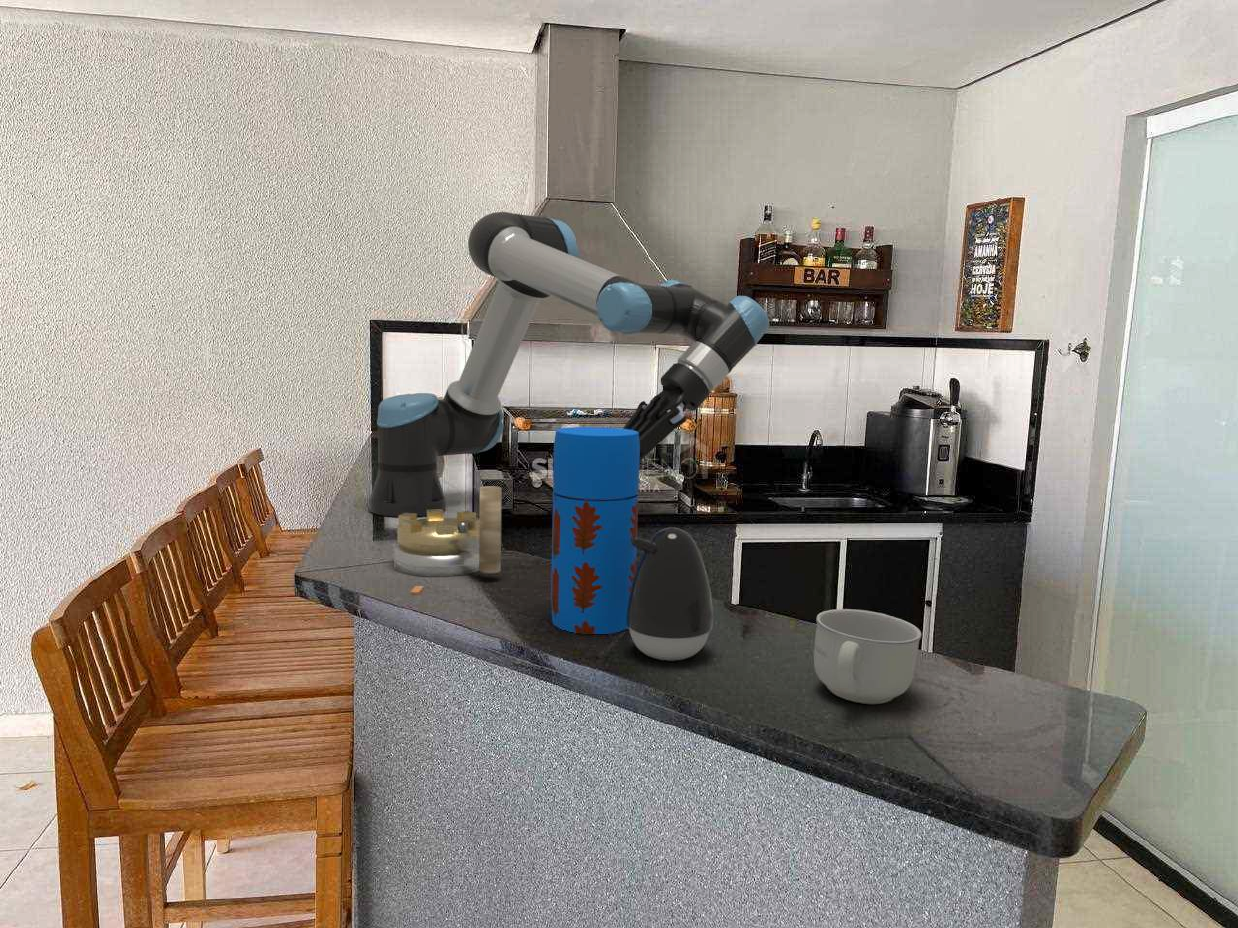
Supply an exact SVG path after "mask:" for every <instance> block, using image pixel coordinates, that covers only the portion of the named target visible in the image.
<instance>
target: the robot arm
mask: <svg viewBox="0 0 1238 928" xmlns="http://www.w3.org/2000/svg"><path fill="white" fill-rule="evenodd" d="M467 244H468V245H467V247H468V253H469V256H470V258H471V261H472V262H473V264H474V265H475V266H476V267H477V268H478V269H479V270H480V271H482V272H483V273H484V274H487V275H489V276H492V277H494V278H496V280H497V283H498V284H497V287H496V289H495V291H494V294H493V296H492V299H491V301H490V304H489V306H488V309H487V311H486V313H485V316H484V318H483V321H482V324H481V326H480V329H479V331H478V333H477V336H476V338H475V340H474V343H473V344H472V345H473V346H472V348H471V350H470V353H469V356H468V358H467V360H466V362H465V365H464V368H463V370H462V372H461V375H460V378H459V379H458V380H456V381H453V382H451V383H449V385H448V387H447V389H446V391H445V394H444V396H443V397H442V399H438V396H437V395H436V394H434V393H427V392H416V393H404V394H398V395H393V396H389V397H387V398H384V399H382V401H381V402H380V403H379V405H378V410H377V420H376V425H377V453H378V454H377V455H378V456H377V461H378V462H377V465H378V467H377V469H378V470H377V475H376V479H375V481H374V485H373V488H372V491H371V494H370V498H369V503H368V505H369V508H368V509H369V512H370V513H372V514H375V515H379V516H384V517H396V518H397V517H398V518H399V515H401V514H403V513H415V514H417V517H425V516H426V517H427V509H442V510H443V511H444V512H445V511H446V510H447V509H446V508H447V505H446V504H447V499H446V496H445V492H444V490H443V487H442V484H441V480H440V477H439V475H438V457H443V456H445V457H446V456H455V455H457V456H458V455H473V454H478V453H481V452H486V451H488V450H490V449H492V448H493V447H495V445H496V444H497V443H498V442H499V440H500V439H501V437H502V435H503V430H504V426H505V424H504V423H503V420H504V413H503V410H502V403H501V400H500V398H499V394H500V392H501V391H502V388H503V385H504V383H505V381H506V379H507V377H508V374H509V372H510V370H511V368H512V366H513V362H514V360H515V357H516V355H517V353H518V352H519V349H520V347H521V344H522V342H523V340H524V337H525V335H526V333H527V330H528V329H529V326H530V324H531V322H532V319H533V317H534V314H535V313H536V310H537V308H538V305H539V303H540V301H543V300H547V299H549V298H550V297H552V298H554V299H556V300H558V301H560V302H563V303H564V304H568V305H569V306H572V307H573V308H574V307H575V308H576V309H579V310H580V311H583V312H585V313H586V314H587V313H588V314H589V315H592V316H594V317H596V318H598V320H599V321H600V322H601V324H602V326H603V327H604V328H606V330H608V331H609V332H615V333H621V334H624V335H631V334H658V335H659V334H660V335H661V334H663V335H664V334H665V335H667V334H668V335H669V334H670V335H682V336H684V337H686V338H688V339H690V340H692V341H693V342H692V343H690V345H689V346H688V347H687V348H686V349H685V351H684V352H682V354H681V355H680V356H679V357H678V358H677V362H676V363H673V364H672V365H671V366H670V367H669V369H667V371H666V372H665V373H664V374H662V376H661V377H660V384H661V386H662V390H661V391H660V392H659V393H658V394H656V395H654V396H653V397H652V398H651V400H650V401H649V403H646V401H645V400H642V401H641V402H639V404H638V406H637V407H636V410H635V411H634V413H633V414H632V416H631V417H630V418H629V420H628V421H627V422H626V423H625V425H624V426H623V427H622V429H629V430H634V431H637V432H638V433H639V442H640V458H639V462H640V461H641V460H643V459H644V458H645V457H646V456H647V455H649V453H650V452H652V450H654V449H655V448H656V447H657V446H658V445H659V444H660V443H661V442H662V441H663V440H665V439H666V438H667V437H668V436H669V435H670V434H671V433H672V432H673V431H675V430H676V429H677V428H679V427H680V426H681V425H683V424H685V422H687V420H688V418H687V417H686V416H685V415H684V412H686V410H688V411H692V412H693V411H697V410H698V408H699V407H700V406H701V405H702V404H703V403H704V402H705V401H706V400H707V399H708V398H709V396H710V392H714V390H715V389H716V388H717V387H718V386H721V385H723V383H724V382H723V381H724V380H725V378H727V376H729V374H730V373H731V372H732V370H733V369H734V368H735V367H736V366H737V364H739V362H740V361H741V360H743V358H744V357H746V355H748V354H749V353H750V352H751V350H752V349H754V348H755V347H756V346H757V344H758V342H759V341H760V340H761V339H762V337H763V336H764V334H765V333H766V332H767V331H768V329H769V328H770V320H769V317H768V314H767V312H766V311H765V310H764V309H763V307H762V306H761V305H760V304H759V303H758V302H757V301H755V300H754V299H753V298H751V297H749V296H746V295H737V296H735V297H734V298H733V299H732V300H730V301H729V302H728V304H727V303H725V302H722V301H719V300H717V299H714V298H713V297H711V296H710V295H707V294H705V293H703V292H701V291H700V290H697V289H696V288H695V287H693V286H692V285H691V284H688V283H683V282H680V281H679V280H676V279H675V280H674V279H670V280H666V281H665V282H664V283H661V284H659V285H651V284H643V283H639V282H636V281H634V280H632V279H630V278H628V277H624V276H623V275H621V274H617V273H615V272H613V271H610V270H608V269H606V268H603V267H601V266H598V265H595V264H594V263H592V262H588V261H586V260H584V259H582V258H579V256H580V255H579V253H580V252H579V246H578V244H577V238H576V235H575V233H574V232H573V229H571V228H570V226H569V225H568V224H567V223H565V222H563V221H561V220H558V219H554V218H552V217H548V216H534V215H527V214H520V213H513V212H508V211H496V212H491V213H489V214H487V215H485V216H483V217H481V218H480V219H479V220H478V221H477V222H475V224H474V225H473V227H472V229H471V230H470V233H469V236H468V241H467Z"/></svg>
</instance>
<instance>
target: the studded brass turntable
mask: <svg viewBox="0 0 1238 928" xmlns="http://www.w3.org/2000/svg"><path fill="white" fill-rule="evenodd" d="M502 490H503V489H502V487H500V486H497V485H496V486H495V485H489V486H488V485H487V486H480V487H479V517H477V512H473V511H469V510H463V511H457V512H456V518H452V517H444V515H445V514H444V512H445V511H443V510H442V509H427V516H426V518H420V519H418V516H417V514H415V513H403V514H401V515H399V517H398V525H397V533H396V534H397V541H396V543H397V544H396V545H397V546H398V548H399V549H401V550H403V551H407V552H411V553H417V554H430V555H444V554H457V553H464V552H471V553H475V554H479V571H478V572H480V573H484V574H485V573H486V574H495V573H499V572H501V571H502V569H501V564H502V563H501V561H502V560H501V557H502V555H501V554H502V553H501V552H502V550H501V549H502V496H503V495H502V492H503V491H502Z"/></svg>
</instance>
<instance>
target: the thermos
mask: <svg viewBox="0 0 1238 928" xmlns="http://www.w3.org/2000/svg"><path fill="white" fill-rule="evenodd" d="M639 458H640V442H639V433H638V432H637V431H634V430H629V429H623V428H622V427H621V428H618V427H603V426H571V427H562V428H558V429H556V430H555V436H554V442H553V476H552V477H553V481H552V488H553V489H552V491H553V492H552V525H551V526H552V532H551V534H552V535H551V579H550V580H551V583H550V585H551V586H550V587H551V589H550V597H551V599H550V601H551V622H552V621H553V622H552V625H553V626H554V625H555V626H557V627H558V628H560V629H562V630H561V631H563V630H566V631H569V632H574V633H573V634H575V633H585V634H608V635H610V634H609V633H615V632H619V631H623V630H625V629H626V628H628V626H627V623H626V616H627V607H628V601H629V595H630V591H631V586H632V582H633V579H634V576H635V572H636V570H637V549H638V548H636V547H634V546H632V545H631V540H632V538H633V537H637V538H638V515H639V487H640V486H639V485H640V484H639V483H640V480H639V479H640V461H639ZM555 626H554V627H555ZM558 628H557V629H558ZM560 629H559V630H560ZM566 631H565V632H566ZM625 631H626V630H625ZM569 632H568V633H569ZM623 632H624V631H623ZM619 633H620V632H619ZM615 634H616V633H615Z"/></svg>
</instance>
